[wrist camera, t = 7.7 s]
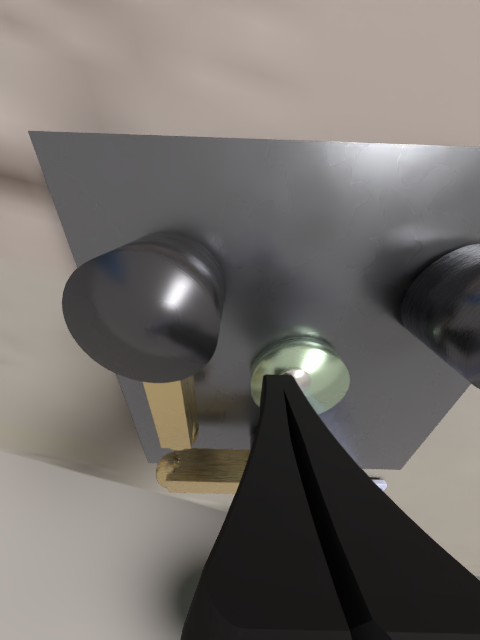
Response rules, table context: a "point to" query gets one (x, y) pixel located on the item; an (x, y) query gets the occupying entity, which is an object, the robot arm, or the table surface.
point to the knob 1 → (151, 322)
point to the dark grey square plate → (288, 269)
